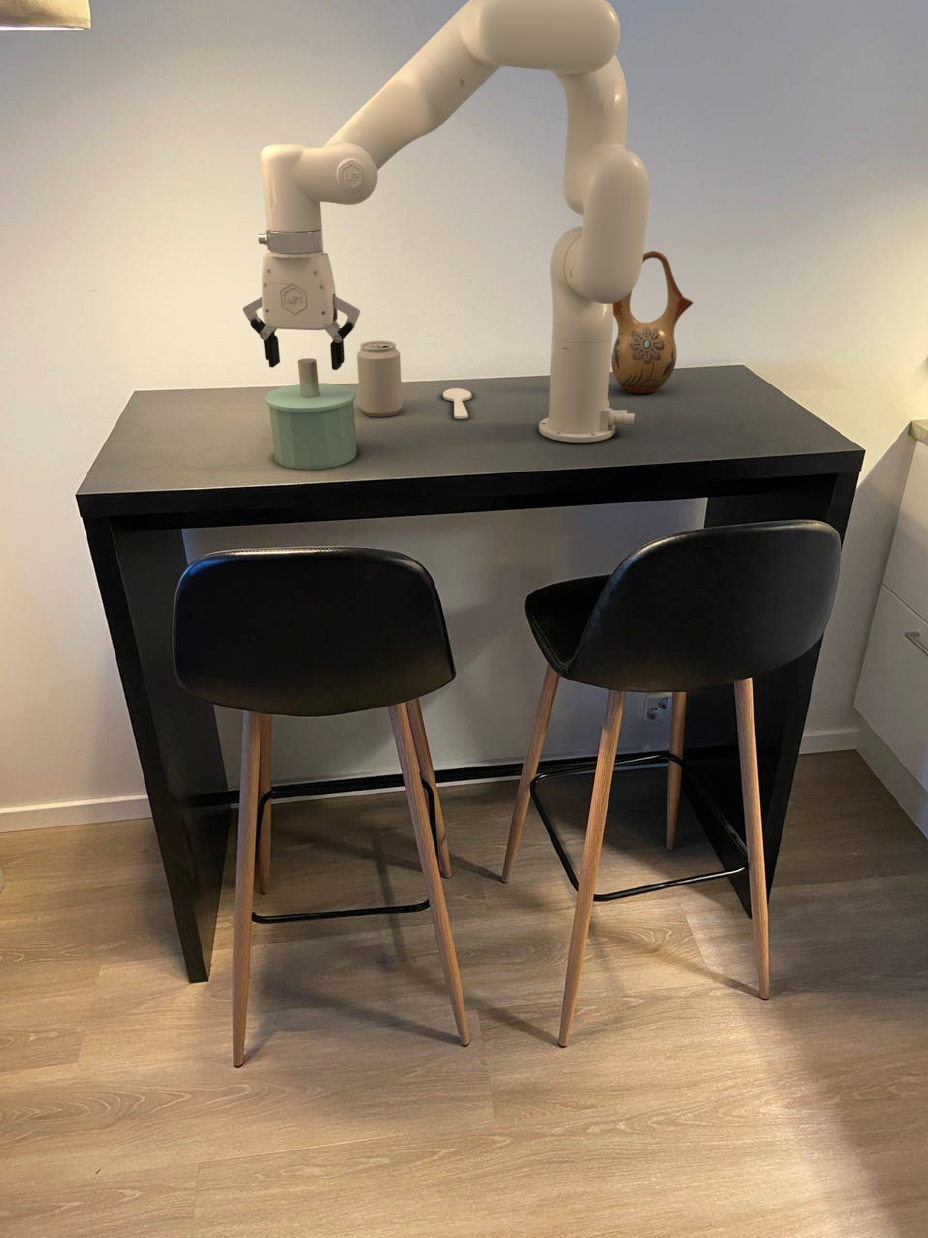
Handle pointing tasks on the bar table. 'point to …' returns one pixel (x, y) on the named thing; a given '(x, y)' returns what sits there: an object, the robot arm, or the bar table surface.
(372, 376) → the can
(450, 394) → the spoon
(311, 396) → the pot lid
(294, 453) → the pot
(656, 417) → the bar table surface
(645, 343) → the ceramic vessel
